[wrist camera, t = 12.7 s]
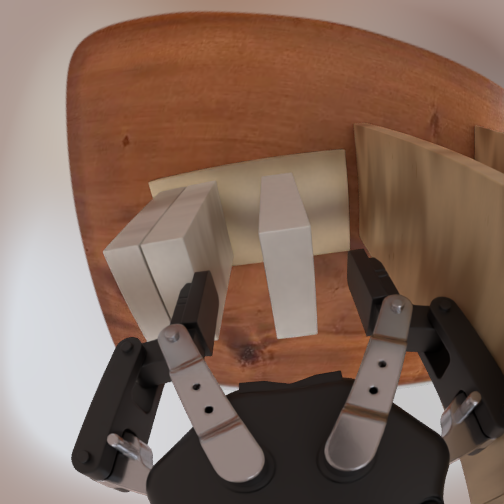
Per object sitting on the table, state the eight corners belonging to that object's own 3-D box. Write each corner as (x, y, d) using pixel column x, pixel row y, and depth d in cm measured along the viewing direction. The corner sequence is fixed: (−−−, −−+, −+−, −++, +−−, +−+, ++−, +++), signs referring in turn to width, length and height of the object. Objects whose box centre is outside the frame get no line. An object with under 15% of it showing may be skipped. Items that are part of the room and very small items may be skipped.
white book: (261, 176, 22) (258, 232, 13) (291, 172, 21) (310, 225, 13) (274, 254, 25) (277, 339, 16) (301, 250, 25) (317, 334, 16)
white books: (150, 180, 23) (84, 237, 13) (343, 148, 21) (400, 188, 12) (178, 270, 27) (143, 353, 18) (348, 247, 25) (386, 330, 16)
